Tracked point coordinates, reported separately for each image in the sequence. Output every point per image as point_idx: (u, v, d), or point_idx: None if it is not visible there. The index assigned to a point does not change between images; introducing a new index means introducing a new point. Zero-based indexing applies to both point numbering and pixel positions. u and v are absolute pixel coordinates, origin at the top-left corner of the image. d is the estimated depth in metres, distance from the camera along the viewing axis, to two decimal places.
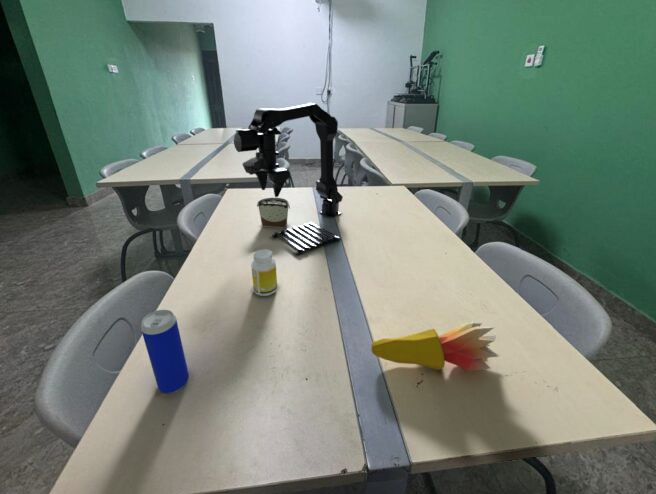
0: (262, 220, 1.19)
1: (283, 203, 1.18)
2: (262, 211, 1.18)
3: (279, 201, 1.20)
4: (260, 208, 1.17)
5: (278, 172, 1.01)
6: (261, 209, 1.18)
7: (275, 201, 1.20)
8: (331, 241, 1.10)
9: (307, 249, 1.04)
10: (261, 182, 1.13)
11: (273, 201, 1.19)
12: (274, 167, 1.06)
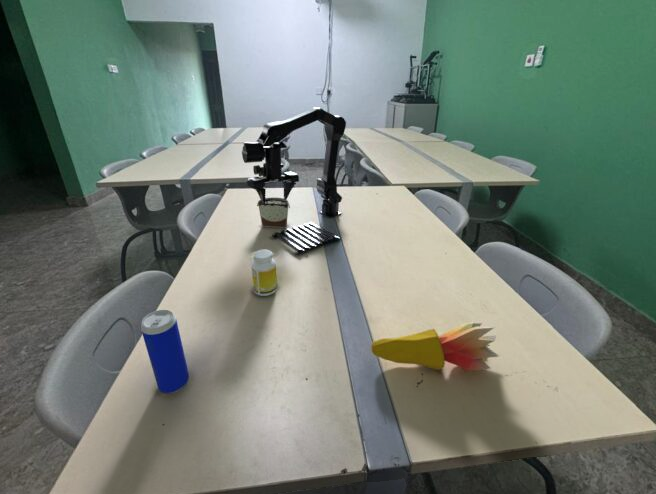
0: (262, 220, 1.19)
1: (283, 203, 1.18)
2: (262, 210, 1.18)
3: (279, 201, 1.20)
4: (260, 208, 1.18)
5: (249, 179, 1.10)
6: (261, 209, 1.18)
7: (275, 201, 1.20)
8: (331, 241, 1.10)
9: (307, 249, 1.04)
10: (284, 192, 1.21)
11: (273, 201, 1.20)
12: (268, 178, 1.13)
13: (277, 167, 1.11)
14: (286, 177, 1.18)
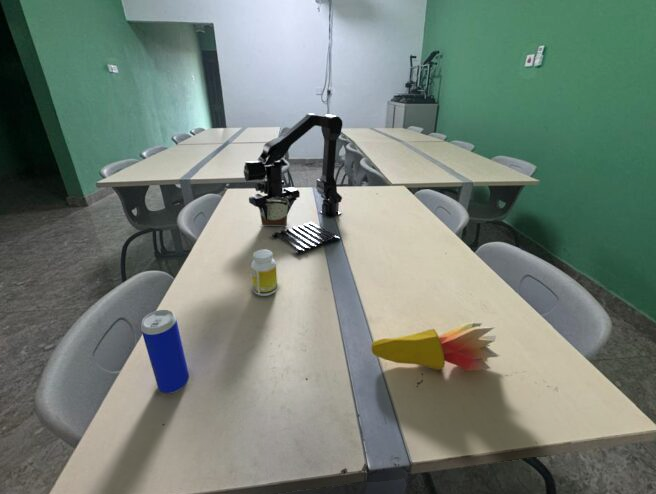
0: (262, 218, 1.20)
1: (283, 201, 1.19)
2: None
3: (279, 200, 1.21)
4: None
5: (250, 196, 1.13)
6: None
7: (275, 200, 1.21)
8: (331, 241, 1.10)
9: (307, 249, 1.04)
10: None
11: (273, 200, 1.21)
12: (269, 195, 1.15)
13: (278, 185, 1.14)
14: (287, 193, 1.21)
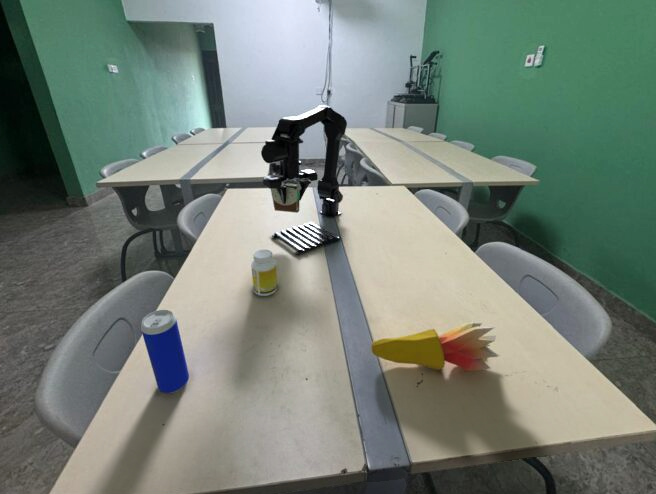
0: (274, 203, 1.12)
1: (295, 185, 1.09)
2: (274, 193, 1.11)
3: (293, 183, 1.11)
4: (272, 190, 1.11)
5: (265, 178, 1.04)
6: (273, 191, 1.11)
7: (288, 183, 1.11)
8: (331, 241, 1.10)
9: (307, 249, 1.04)
10: None
11: (286, 183, 1.12)
12: (285, 176, 1.06)
13: (295, 165, 1.04)
14: (304, 175, 1.11)
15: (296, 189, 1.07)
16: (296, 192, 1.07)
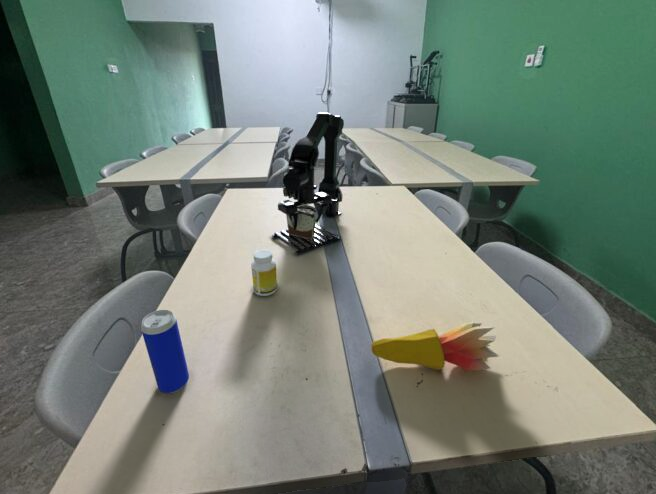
0: (289, 227, 1.11)
1: (311, 212, 1.07)
2: None
3: (309, 209, 1.09)
4: None
5: (280, 203, 1.02)
6: None
7: (304, 209, 1.09)
8: (331, 241, 1.10)
9: (307, 249, 1.04)
10: None
11: (302, 208, 1.09)
12: (300, 201, 1.04)
13: (310, 190, 1.03)
14: (318, 199, 1.09)
15: (313, 218, 1.05)
16: (313, 220, 1.05)
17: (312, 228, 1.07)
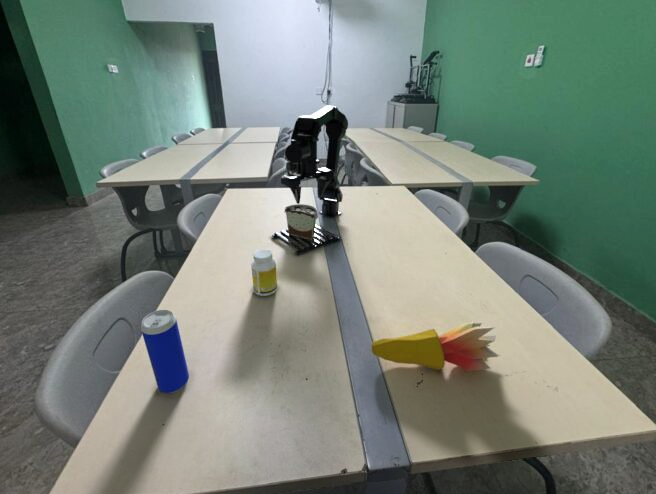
0: (289, 227, 1.11)
1: (311, 212, 1.07)
2: (289, 218, 1.09)
3: (309, 209, 1.09)
4: (287, 214, 1.09)
5: (283, 177, 1.03)
6: (288, 216, 1.09)
7: (304, 209, 1.09)
8: (331, 241, 1.10)
9: (307, 249, 1.04)
10: (318, 189, 1.13)
11: (302, 208, 1.09)
12: (303, 175, 1.05)
13: (313, 164, 1.04)
14: (321, 174, 1.10)
15: (313, 218, 1.05)
16: (313, 220, 1.05)
17: (312, 228, 1.07)
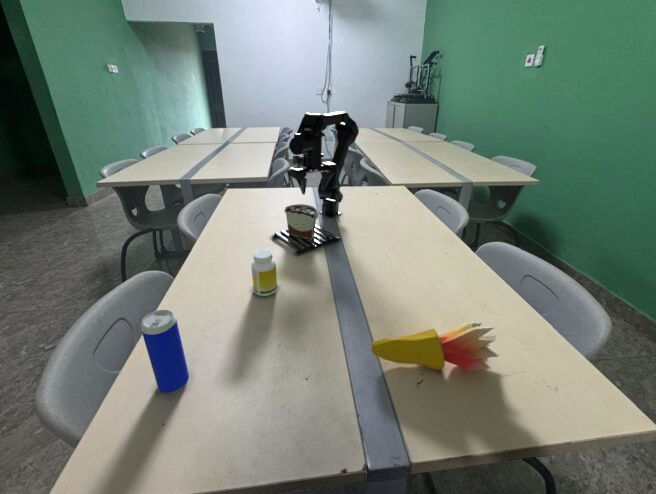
0: (289, 227, 1.11)
1: (311, 212, 1.07)
2: (289, 218, 1.09)
3: (309, 209, 1.09)
4: (287, 214, 1.09)
5: (290, 169, 1.11)
6: (288, 216, 1.09)
7: (304, 209, 1.09)
8: (331, 241, 1.10)
9: (307, 249, 1.04)
10: (322, 182, 1.21)
11: (302, 208, 1.09)
12: (309, 168, 1.13)
13: (318, 157, 1.12)
14: (325, 167, 1.18)
15: (313, 218, 1.05)
16: (313, 220, 1.05)
17: (312, 228, 1.07)
